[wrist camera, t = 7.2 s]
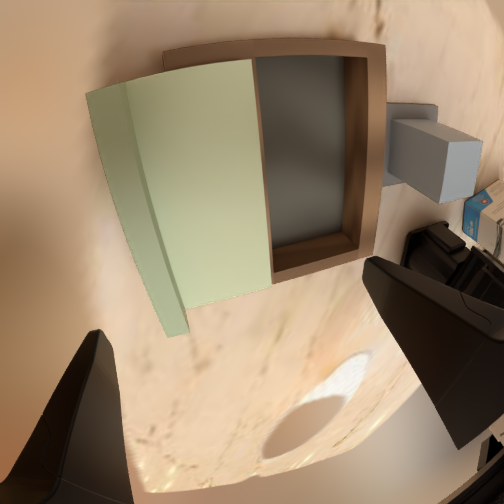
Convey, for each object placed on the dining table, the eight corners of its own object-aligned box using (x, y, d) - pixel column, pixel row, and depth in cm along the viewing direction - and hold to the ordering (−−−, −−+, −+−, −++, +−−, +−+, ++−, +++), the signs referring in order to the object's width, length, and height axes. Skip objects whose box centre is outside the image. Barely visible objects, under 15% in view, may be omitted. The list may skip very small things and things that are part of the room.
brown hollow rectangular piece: (353, 235, 26) (372, 254, 23) (205, 274, 23) (213, 300, 21) (358, 44, 16) (385, 44, 14) (162, 55, 14) (162, 51, 12)
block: (423, 167, 23) (472, 195, 19) (387, 172, 23) (438, 204, 18) (428, 119, 21) (482, 141, 16) (391, 119, 20) (448, 142, 15)
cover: (266, 277, 21) (282, 307, 18) (163, 304, 20) (167, 338, 17) (245, 59, 13) (265, 57, 10) (99, 89, 11) (85, 93, 9)
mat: (427, 176, 25) (430, 178, 24) (372, 186, 23) (374, 188, 23) (434, 105, 21) (438, 106, 20) (375, 103, 19) (379, 103, 19)
